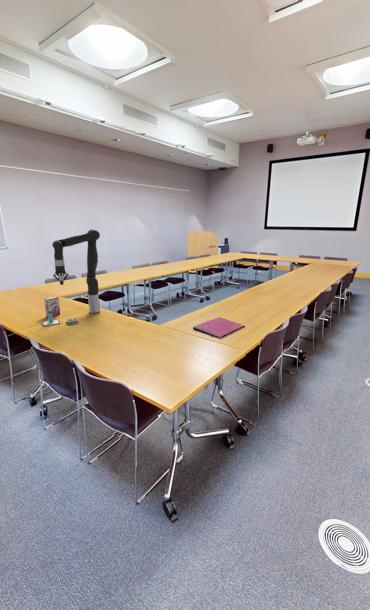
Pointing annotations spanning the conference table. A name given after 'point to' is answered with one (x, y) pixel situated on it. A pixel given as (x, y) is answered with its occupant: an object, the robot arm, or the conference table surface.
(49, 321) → the marker
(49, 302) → the candy bar box
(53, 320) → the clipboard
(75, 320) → the button housing
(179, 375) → the conference table surface
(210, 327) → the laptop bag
